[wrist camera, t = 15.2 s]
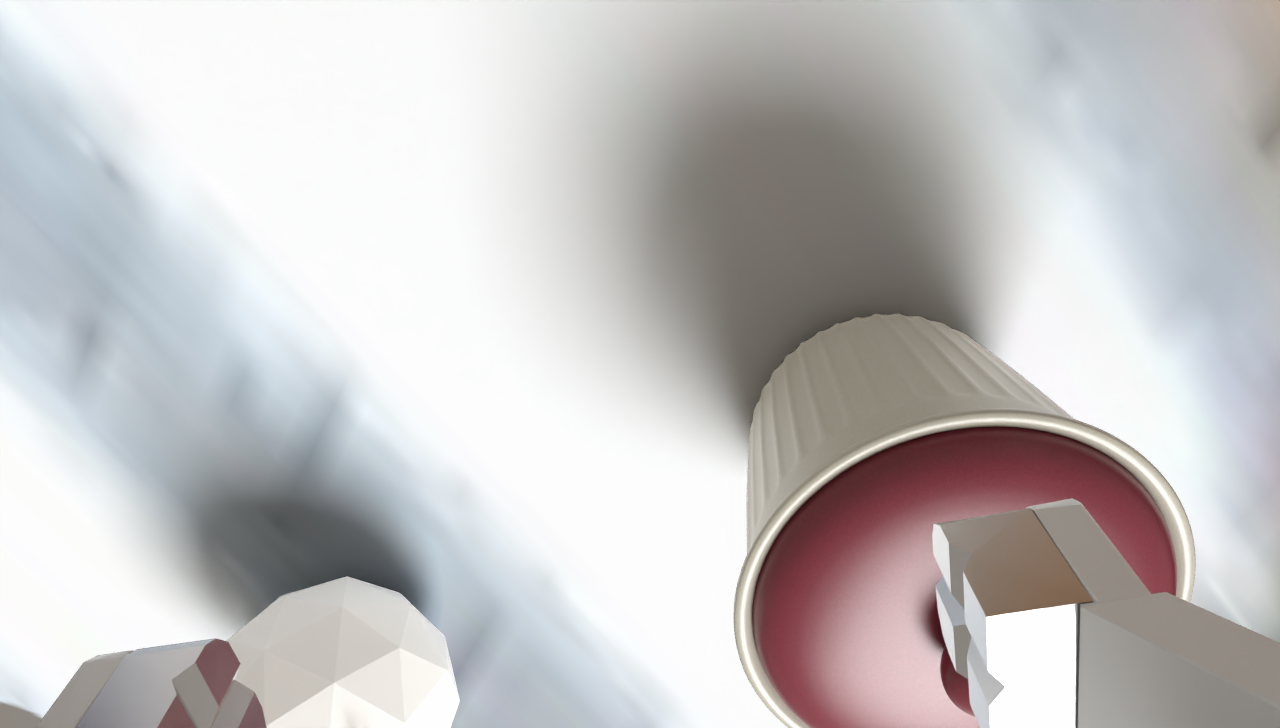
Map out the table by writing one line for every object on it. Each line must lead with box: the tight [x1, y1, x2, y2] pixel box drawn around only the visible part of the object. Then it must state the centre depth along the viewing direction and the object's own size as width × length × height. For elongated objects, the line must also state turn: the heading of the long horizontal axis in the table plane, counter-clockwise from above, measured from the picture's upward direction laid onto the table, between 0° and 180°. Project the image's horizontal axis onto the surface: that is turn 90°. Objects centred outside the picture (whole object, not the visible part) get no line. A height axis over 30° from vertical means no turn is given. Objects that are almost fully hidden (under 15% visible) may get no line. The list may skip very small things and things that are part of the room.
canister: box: [734, 313, 1195, 728], centre depth 42 cm, size 18×18×21 cm
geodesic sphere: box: [227, 576, 460, 728], centre depth 52 cm, size 14×14×14 cm
